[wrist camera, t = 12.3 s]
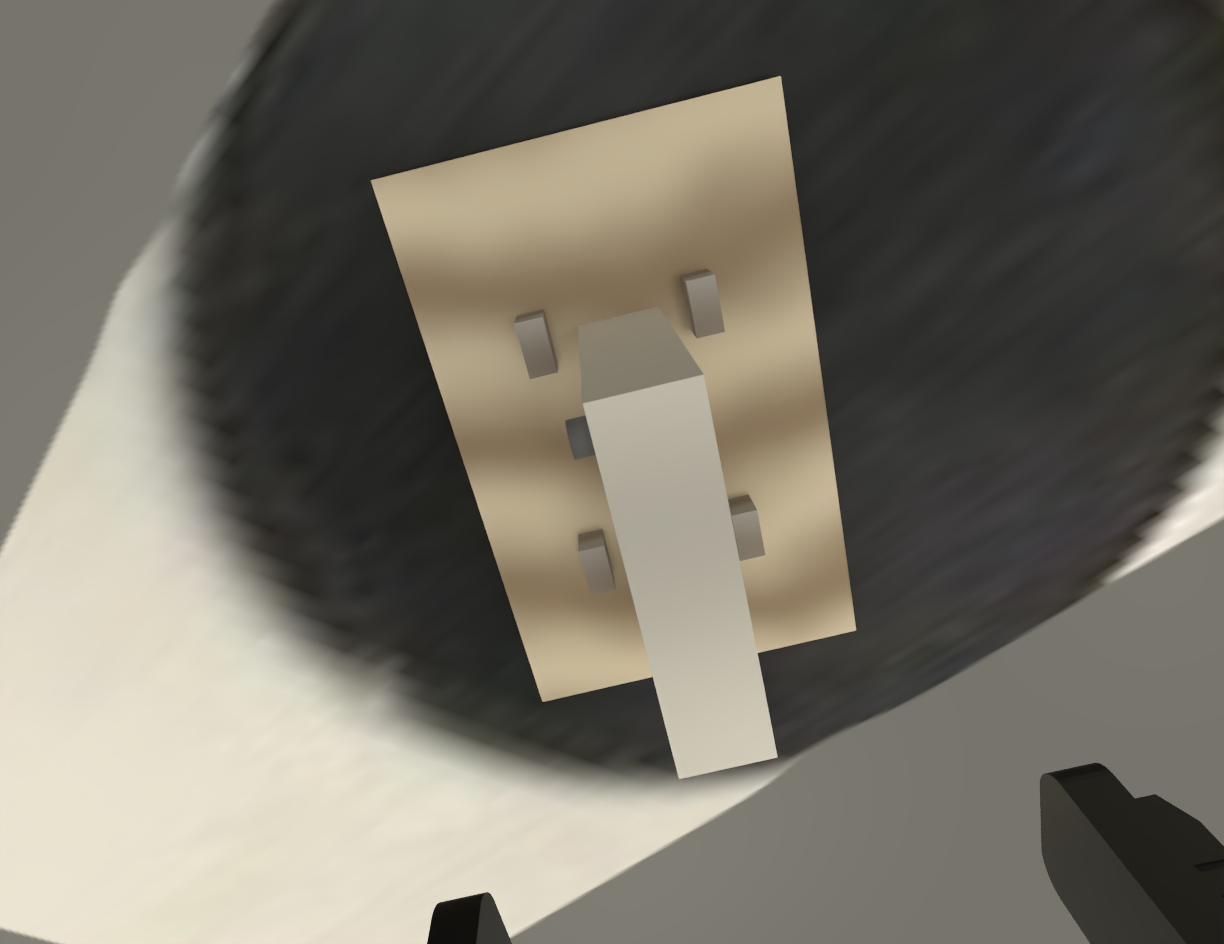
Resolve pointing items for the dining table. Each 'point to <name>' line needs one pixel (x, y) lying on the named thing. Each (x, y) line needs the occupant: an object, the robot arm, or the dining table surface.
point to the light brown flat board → (612, 286)
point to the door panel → (674, 536)
